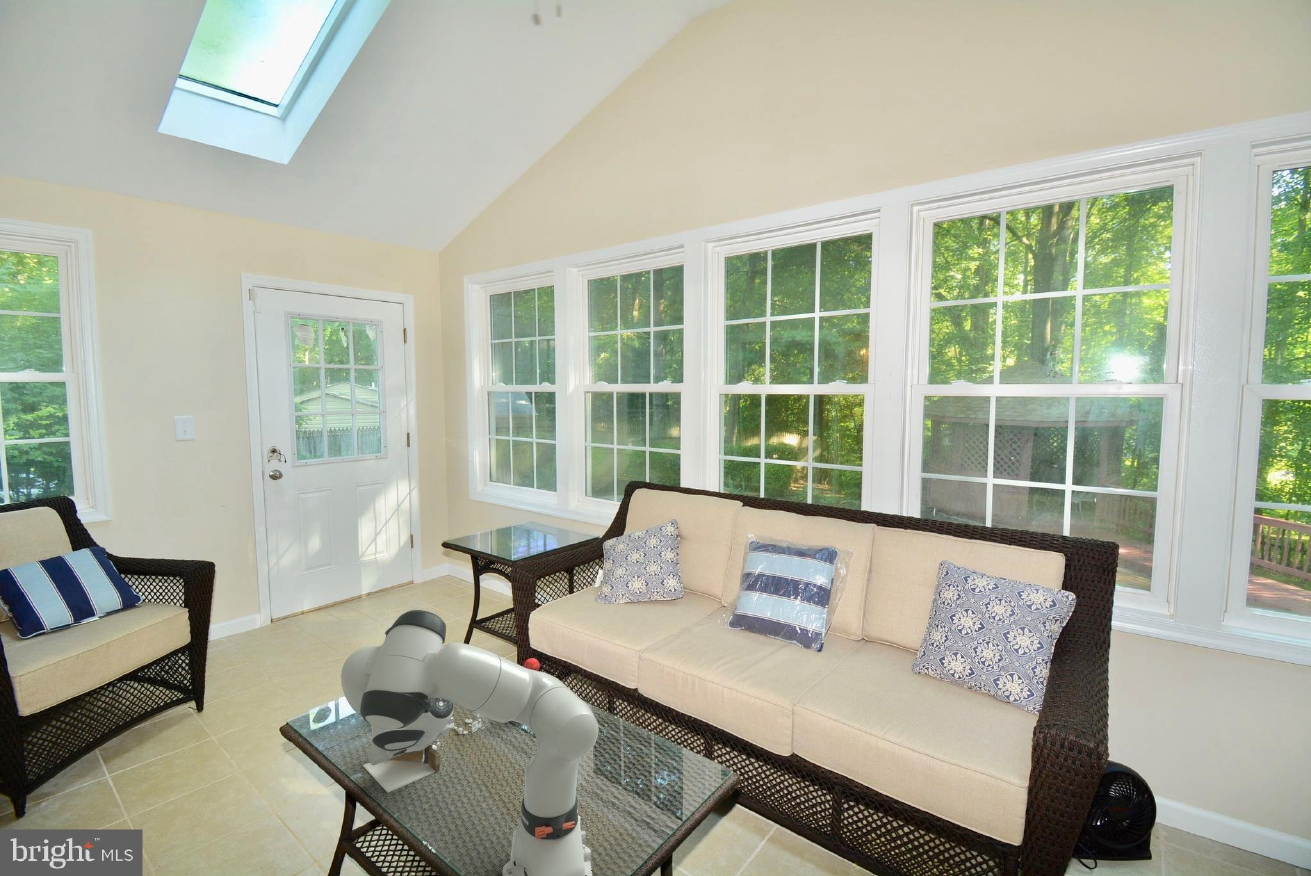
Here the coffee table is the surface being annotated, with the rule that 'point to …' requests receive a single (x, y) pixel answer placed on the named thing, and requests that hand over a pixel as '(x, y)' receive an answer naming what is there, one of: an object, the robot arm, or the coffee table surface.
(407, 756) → the fence panel
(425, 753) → the fence post
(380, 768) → the card
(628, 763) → the coffee table surface
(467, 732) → the white blossom branch
